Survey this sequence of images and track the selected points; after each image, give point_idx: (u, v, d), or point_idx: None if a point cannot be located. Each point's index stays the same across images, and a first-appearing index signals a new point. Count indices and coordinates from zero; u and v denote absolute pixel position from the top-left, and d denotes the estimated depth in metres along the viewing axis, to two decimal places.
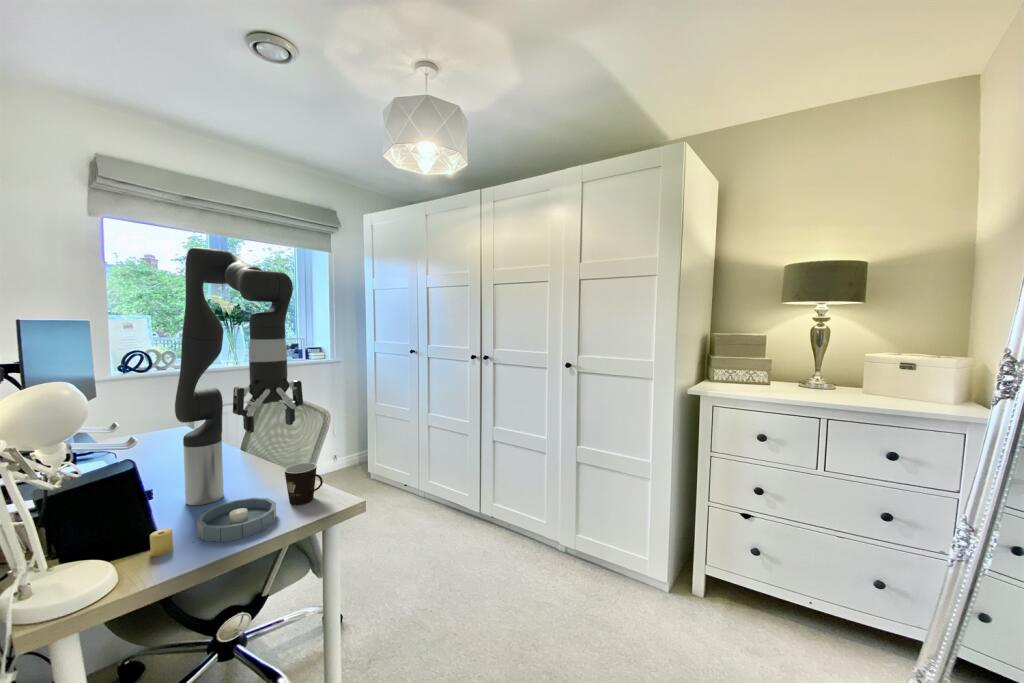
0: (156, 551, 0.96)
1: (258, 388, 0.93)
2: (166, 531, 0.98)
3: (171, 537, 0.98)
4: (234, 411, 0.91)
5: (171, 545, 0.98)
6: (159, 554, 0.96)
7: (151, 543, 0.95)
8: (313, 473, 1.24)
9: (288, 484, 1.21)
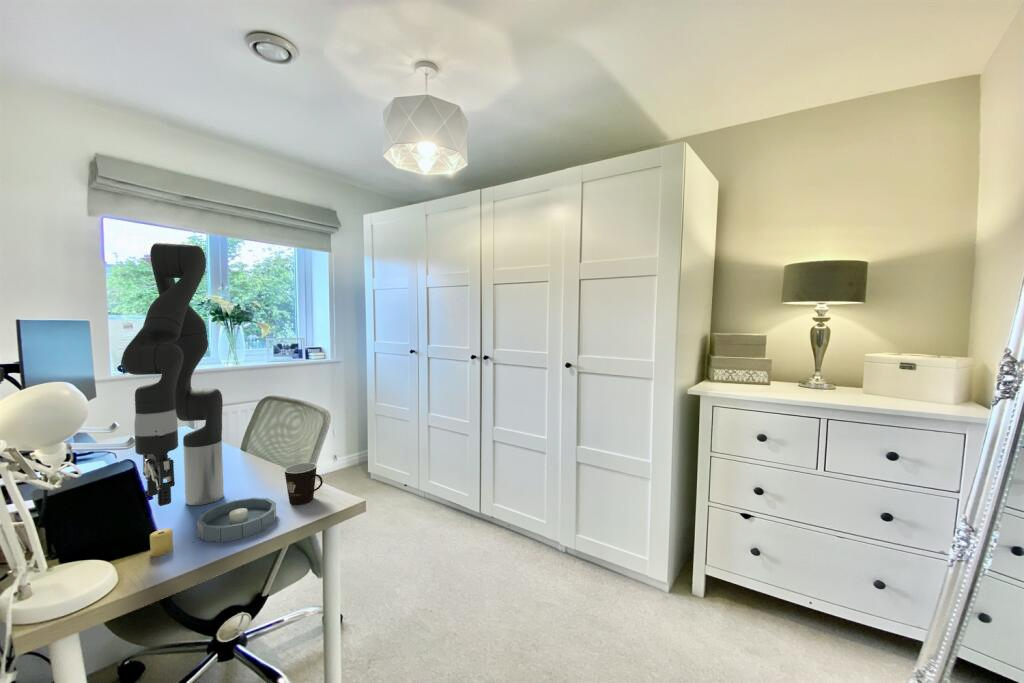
0: (156, 551, 0.96)
1: None
2: (166, 531, 0.98)
3: (171, 537, 0.98)
4: (165, 485, 0.92)
5: (171, 545, 0.98)
6: (159, 554, 0.96)
7: (151, 543, 0.95)
8: (313, 473, 1.24)
9: (288, 484, 1.21)
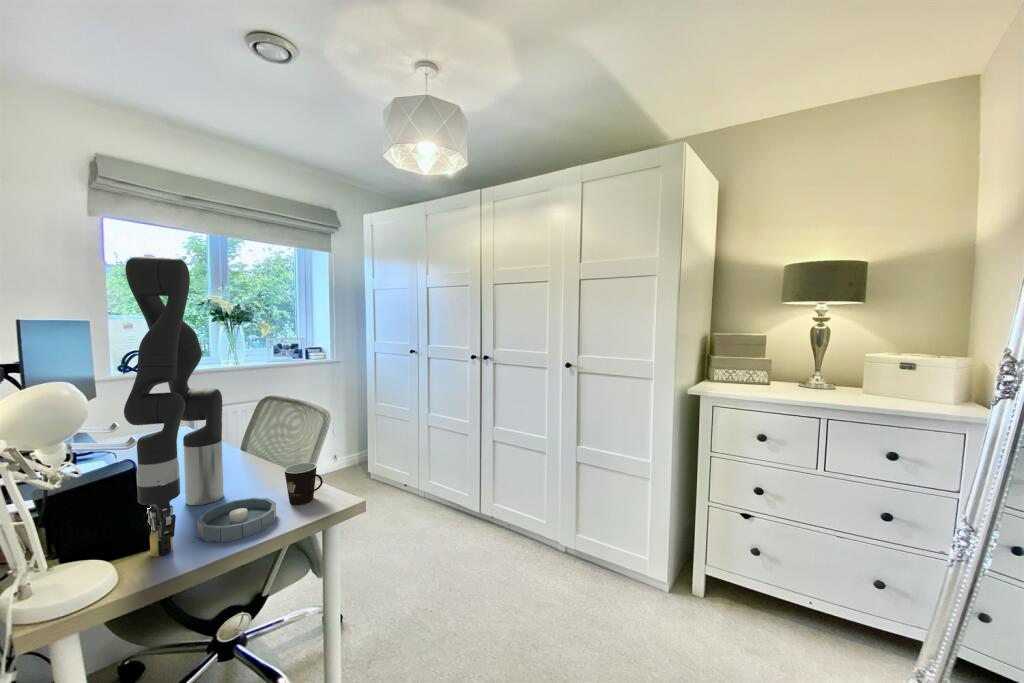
0: (156, 551, 0.96)
1: None
2: (166, 531, 0.98)
3: None
4: (165, 538, 0.94)
5: (171, 544, 0.98)
6: None
7: (151, 543, 0.95)
8: (313, 473, 1.24)
9: (288, 484, 1.21)
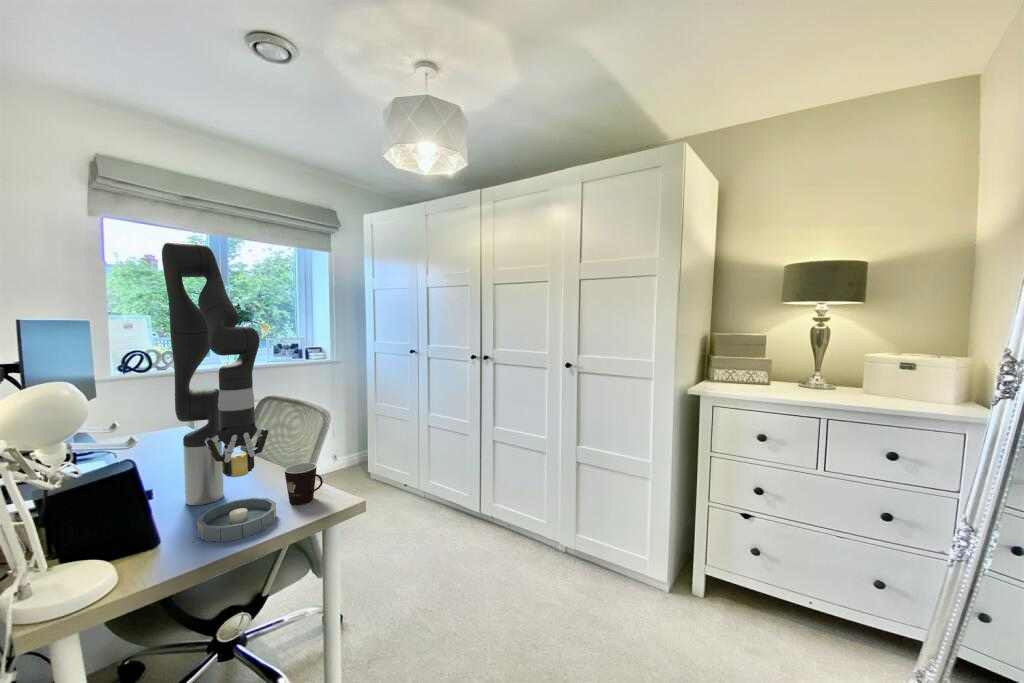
0: (247, 469, 1.06)
1: None
2: (237, 455, 1.06)
3: None
4: None
5: None
6: (247, 471, 1.06)
7: (243, 463, 1.05)
8: (313, 473, 1.24)
9: (288, 484, 1.21)
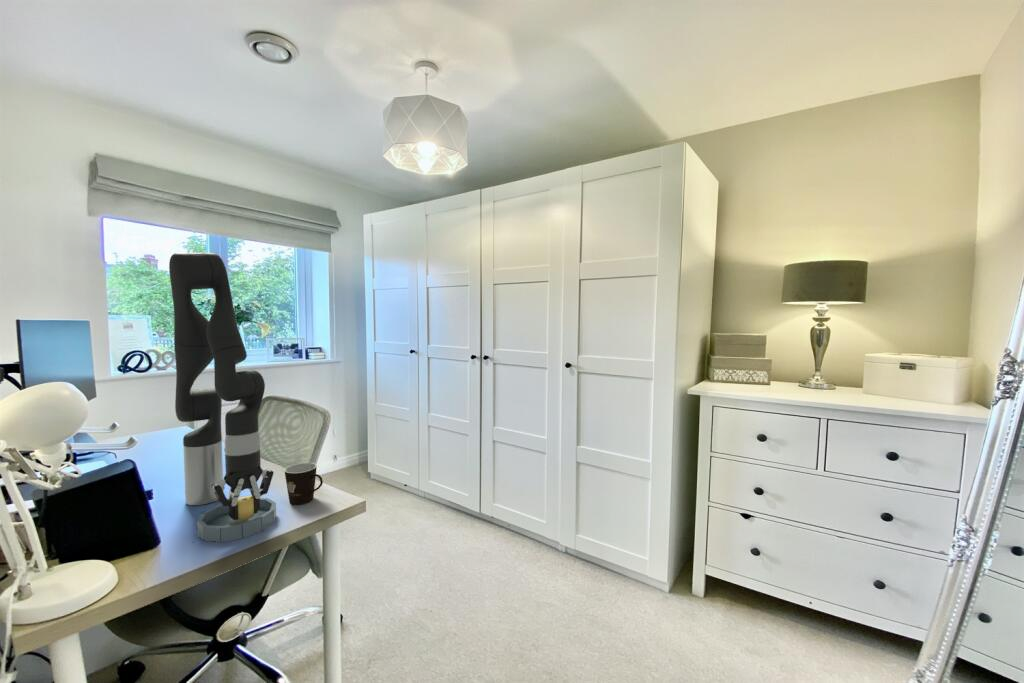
0: (253, 511, 1.07)
1: None
2: (243, 498, 1.07)
3: None
4: None
5: None
6: (253, 513, 1.08)
7: (250, 506, 1.06)
8: (313, 473, 1.24)
9: (288, 484, 1.21)
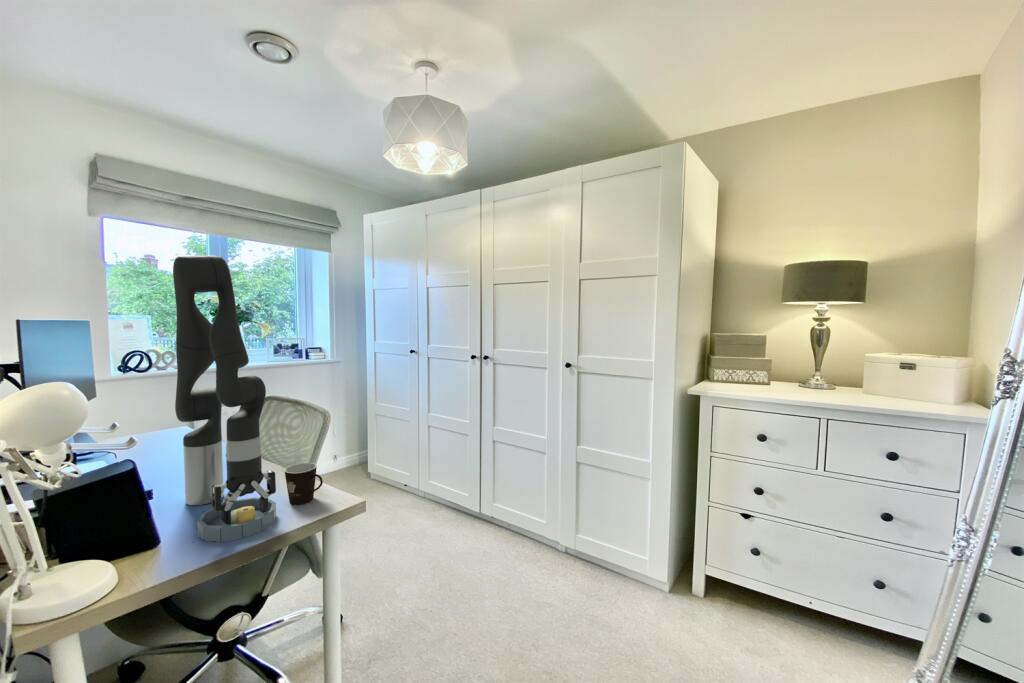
0: None
1: None
2: (244, 508, 1.08)
3: None
4: None
5: None
6: None
7: (251, 516, 1.06)
8: (313, 473, 1.24)
9: (288, 484, 1.21)
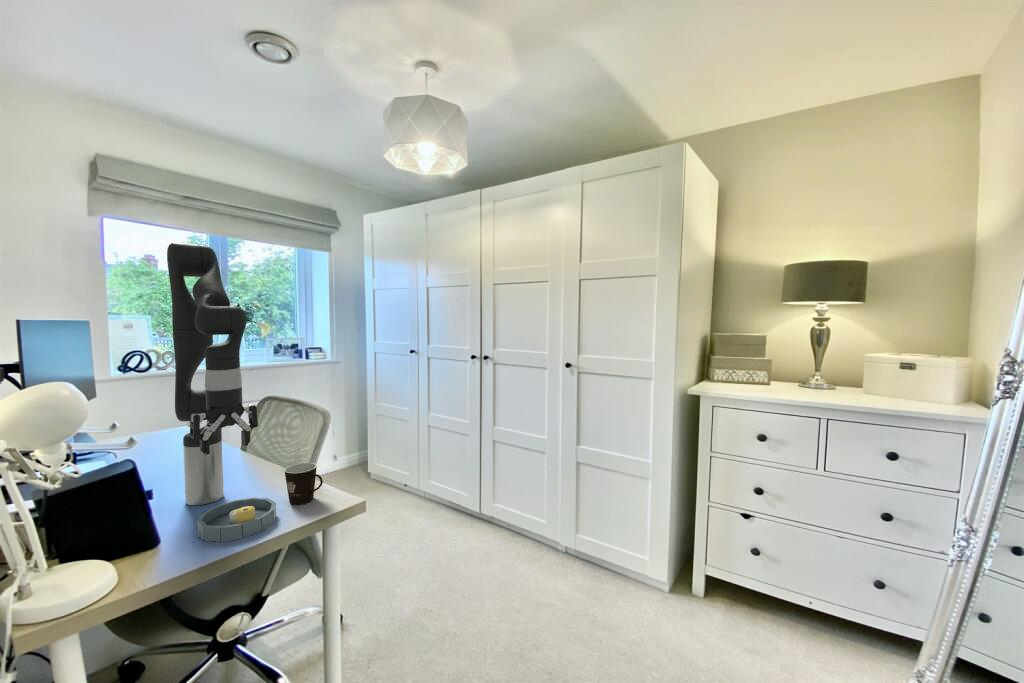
0: None
1: None
2: (244, 508, 1.08)
3: None
4: None
5: None
6: None
7: (251, 516, 1.06)
8: (313, 473, 1.24)
9: (288, 484, 1.21)
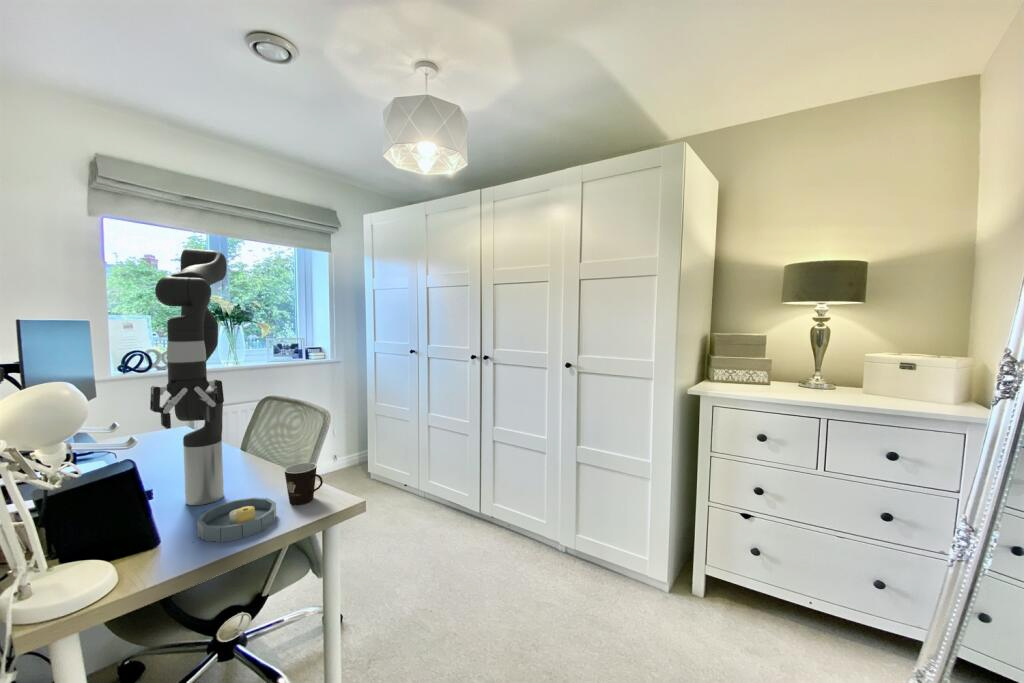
0: None
1: None
2: (244, 508, 1.08)
3: None
4: None
5: None
6: None
7: (251, 516, 1.06)
8: (313, 473, 1.24)
9: (288, 484, 1.21)
